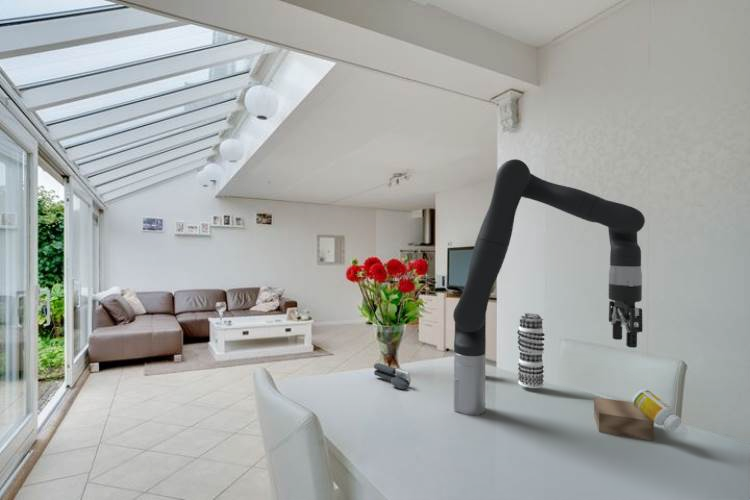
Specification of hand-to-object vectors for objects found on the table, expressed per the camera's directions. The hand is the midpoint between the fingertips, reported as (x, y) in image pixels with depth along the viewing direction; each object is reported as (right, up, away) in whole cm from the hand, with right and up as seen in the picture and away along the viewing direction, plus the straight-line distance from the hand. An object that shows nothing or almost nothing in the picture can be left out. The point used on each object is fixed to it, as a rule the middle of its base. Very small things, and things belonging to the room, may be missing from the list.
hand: (624, 343), depth 106 cm
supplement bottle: (+2, -13, -3) cm, 14 cm away
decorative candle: (-11, -23, +36) cm, 44 cm away
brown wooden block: (0, -24, +1) cm, 24 cm away
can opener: (-61, -24, +39) cm, 76 cm away
